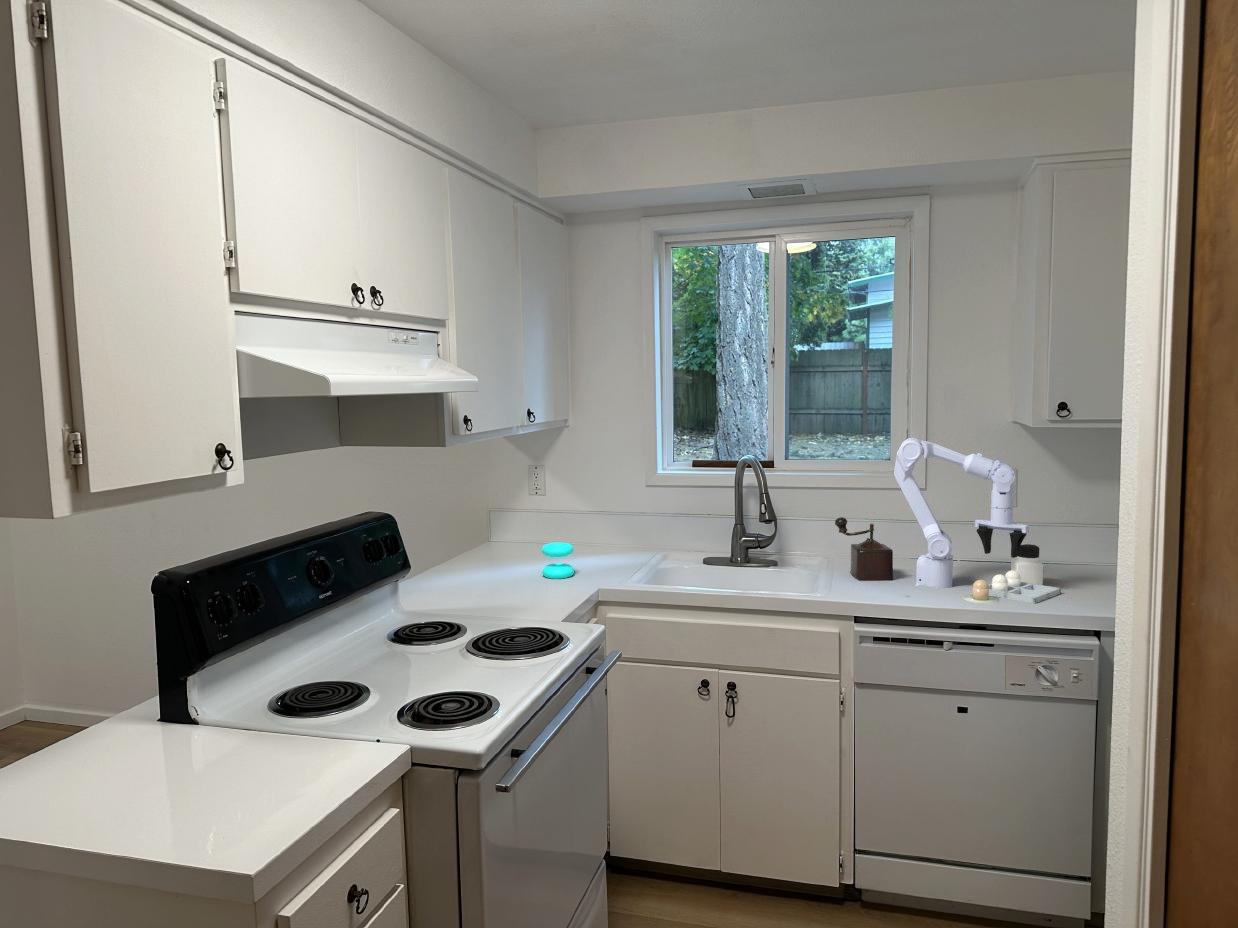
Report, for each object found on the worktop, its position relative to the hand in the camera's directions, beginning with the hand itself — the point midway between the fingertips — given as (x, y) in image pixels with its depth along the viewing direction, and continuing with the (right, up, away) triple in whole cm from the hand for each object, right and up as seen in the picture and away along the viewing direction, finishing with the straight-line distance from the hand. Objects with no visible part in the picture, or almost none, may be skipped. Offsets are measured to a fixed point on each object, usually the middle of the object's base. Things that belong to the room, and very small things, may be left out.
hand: (1000, 555), depth 244 cm
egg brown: (-10, -11, -10) cm, 17 cm away
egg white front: (-2, -10, -4) cm, 11 cm away
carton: (+3, -11, -4) cm, 12 cm away
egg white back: (+4, -10, +1) cm, 10 cm away
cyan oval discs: (-126, -10, +30) cm, 130 cm away
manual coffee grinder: (-33, -9, +22) cm, 40 cm away
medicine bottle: (+11, -10, +7) cm, 16 cm away
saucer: (-10, -12, -10) cm, 18 cm away
